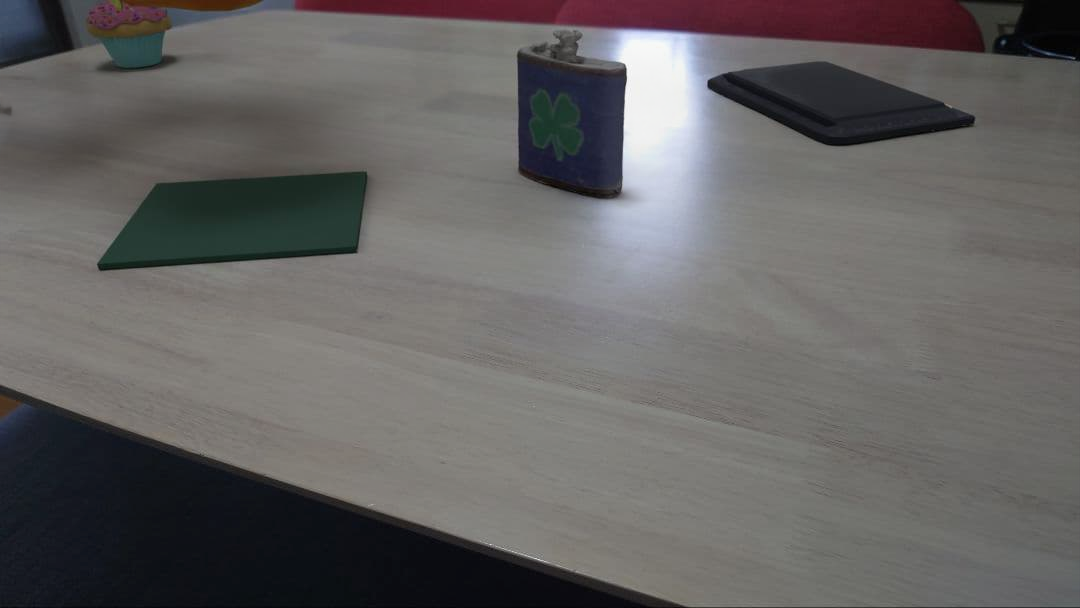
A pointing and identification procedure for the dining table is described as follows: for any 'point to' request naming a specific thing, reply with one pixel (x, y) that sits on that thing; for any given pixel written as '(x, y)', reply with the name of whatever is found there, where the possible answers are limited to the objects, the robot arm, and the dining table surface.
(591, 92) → the flask
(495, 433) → the dining table surface
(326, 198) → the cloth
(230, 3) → the cheeseburger
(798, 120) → the wallet
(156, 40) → the cupcake
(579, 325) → the dining table surface
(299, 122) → the dining table surface
